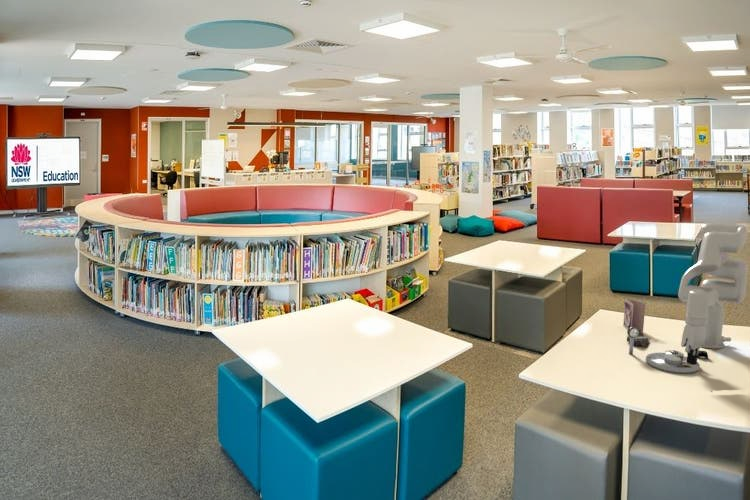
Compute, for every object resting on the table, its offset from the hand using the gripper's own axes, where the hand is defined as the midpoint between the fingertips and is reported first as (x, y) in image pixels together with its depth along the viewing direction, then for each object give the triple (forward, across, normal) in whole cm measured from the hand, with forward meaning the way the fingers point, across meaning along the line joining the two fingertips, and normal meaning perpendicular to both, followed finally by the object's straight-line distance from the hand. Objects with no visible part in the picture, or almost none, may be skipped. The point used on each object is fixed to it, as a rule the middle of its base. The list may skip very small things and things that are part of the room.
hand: (691, 363), depth 225 cm
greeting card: (+4, -32, -45) cm, 56 cm away
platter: (+3, +2, -7) cm, 8 cm away
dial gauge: (+4, +3, -23) cm, 24 cm away
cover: (+1, +2, -6) cm, 7 cm away
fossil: (+4, -11, -30) cm, 32 cm away
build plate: (+5, -17, -4) cm, 18 cm away
